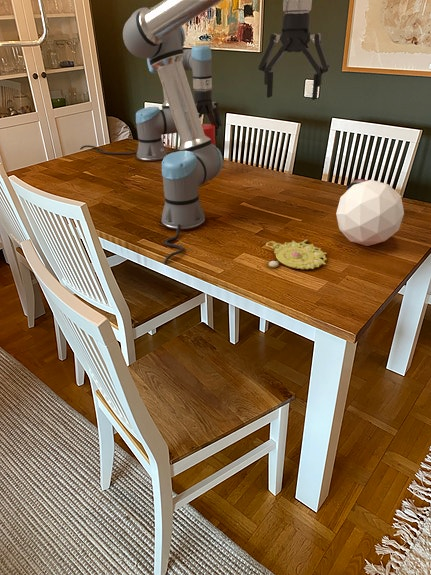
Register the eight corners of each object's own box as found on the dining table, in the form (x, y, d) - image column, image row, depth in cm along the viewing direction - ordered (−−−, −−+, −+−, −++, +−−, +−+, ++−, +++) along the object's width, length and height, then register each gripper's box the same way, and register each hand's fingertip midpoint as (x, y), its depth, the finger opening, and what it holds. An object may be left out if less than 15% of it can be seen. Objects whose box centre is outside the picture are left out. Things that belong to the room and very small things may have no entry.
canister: (194, 152, 195) (192, 124, 189) (214, 151, 196) (214, 123, 189) (195, 158, 188) (193, 129, 181) (216, 157, 188) (215, 128, 182)
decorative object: (309, 275, 120) (249, 251, 130) (307, 282, 121) (248, 258, 131) (343, 246, 133) (286, 226, 143) (341, 253, 134) (285, 233, 145)
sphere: (372, 267, 139) (394, 238, 121) (318, 234, 144) (331, 202, 125) (402, 223, 144) (427, 189, 125) (348, 192, 149) (365, 155, 130)
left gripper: (185, 94, 169) (188, 152, 182) (229, 87, 180) (230, 143, 193) (174, 91, 175) (178, 149, 187) (218, 85, 185) (219, 139, 198)
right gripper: (346, 11, 117) (337, 97, 128) (257, 13, 126) (256, 93, 137) (340, 12, 111) (331, 102, 122) (248, 14, 120) (247, 97, 132)
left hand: (204, 146), depth 190 cm, fingers closed on canister, 9 cm apart
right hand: (291, 98), depth 130 cm, fingers open, 13 cm apart
